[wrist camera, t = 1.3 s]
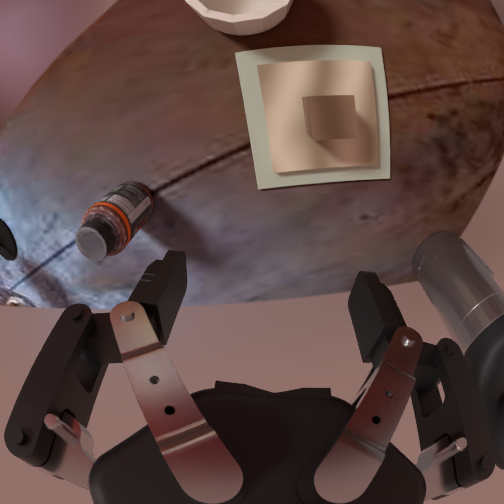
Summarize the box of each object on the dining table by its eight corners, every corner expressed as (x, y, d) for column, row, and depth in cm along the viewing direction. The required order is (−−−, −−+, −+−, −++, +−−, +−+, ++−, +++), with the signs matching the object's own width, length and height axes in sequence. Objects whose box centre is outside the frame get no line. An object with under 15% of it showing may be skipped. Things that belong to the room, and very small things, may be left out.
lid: (367, 62, 21) (389, 56, 16) (375, 163, 28) (396, 178, 23) (257, 66, 23) (254, 57, 18) (273, 170, 29) (274, 187, 24)
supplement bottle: (137, 229, 35) (98, 280, 25) (108, 200, 32) (59, 242, 23) (164, 202, 32) (125, 250, 23) (132, 170, 30) (81, 206, 21)
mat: (379, 48, 21) (380, 47, 20) (388, 177, 29) (389, 178, 28) (235, 53, 23) (234, 52, 22) (258, 188, 31) (258, 189, 30)
